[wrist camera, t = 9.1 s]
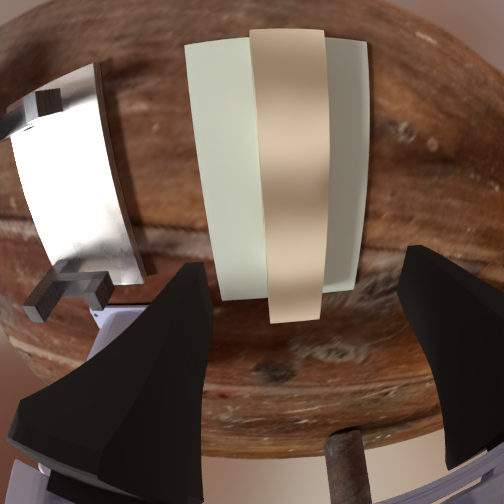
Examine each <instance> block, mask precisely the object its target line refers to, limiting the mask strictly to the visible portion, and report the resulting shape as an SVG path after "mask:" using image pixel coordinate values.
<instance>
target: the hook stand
mask: <svg viewBox="0 0 504 504" xmlns="http://www.w3.org/2000/svg"><path fill="white" fill-rule="evenodd" d="M8 139H12V144H13V149H14V153H15V158H16V162H17V166H18V170H19V174H20V178H21V181H22V185H23V188H24V192H25V195H26V198H27V201H28V204H29V207H30V210H31V213H32V216H33V219H34V222H35V224H36V227H37V230H38V232H39V235H40V237H41V240H42V242H43V245H44V247H45V250H46V252H47V254H48V257H49V259H50V261H51V263H52V265H53V266H52V267H51V269H50V270H49V271H48V272H47V273H46V275H45V276H44V277H43V279H42V280H41V281H40V282H39V284H38V285H37V286H36V288H35V289H34V290H33V292H32V293H31V294H30V296H29V297H28V298H27V300H26V301H25V302H24V304H23V305H22V307H23V308H24V310H25V312H26V313H27V315H28V316H29V318H30V319H31V321H32V322H39V323H45V322H46V320H47V318H48V317H49V315H50V313H51V312H52V310H53V309H54V307H55V306H56V304H57V302H58V301H59V299H60V298H61V297H85V298H86V300H87V302H88V304H89V306H90V308H91V310H92V311H104V309H105V307H106V305H107V303H108V301H109V299H110V297H111V295H112V293H113V291H114V290H115V286H114V285H122V284H144V282H145V280H146V278H147V274H146V271H145V268H144V265H143V262H142V259H141V255H140V252H139V249H138V246H137V243H136V239H135V236H134V233H133V229H132V226H131V222H130V219H129V215H128V212H127V208H126V204H125V200H124V197H123V193H122V189H121V184H120V180H119V176H118V172H117V167H116V163H115V158H114V153H113V148H112V143H111V138H110V132H109V127H108V121H107V115H106V108H105V101H104V94H103V86H102V77H101V67H100V64H97V63H92V64H90V65H87V66H85V67H82V68H80V69H77V70H75V71H73V72H71V73H68V74H66V75H64V76H62V77H60V78H58V79H56V80H54V81H52V82H50V83H48V84H46V85H44V86H42V87H40V88H38V89H36V90H35V91H33V92H31V93H29V94H27V95H26V96H24V97H22V98H21V99H19V100H17V101H16V102H14V103H13V104H11V105H9V106H8V107H7V114H5V115H4V116H2V117H1V118H0V143H1V142H3V141H6V140H8Z"/></svg>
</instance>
